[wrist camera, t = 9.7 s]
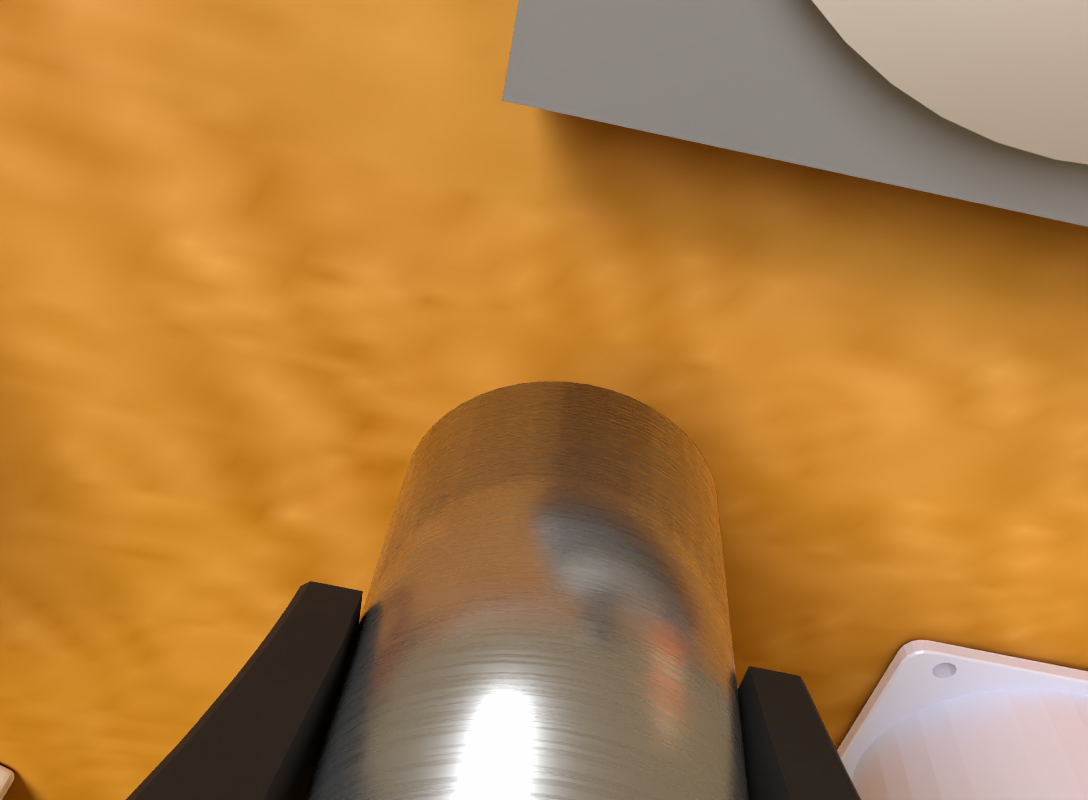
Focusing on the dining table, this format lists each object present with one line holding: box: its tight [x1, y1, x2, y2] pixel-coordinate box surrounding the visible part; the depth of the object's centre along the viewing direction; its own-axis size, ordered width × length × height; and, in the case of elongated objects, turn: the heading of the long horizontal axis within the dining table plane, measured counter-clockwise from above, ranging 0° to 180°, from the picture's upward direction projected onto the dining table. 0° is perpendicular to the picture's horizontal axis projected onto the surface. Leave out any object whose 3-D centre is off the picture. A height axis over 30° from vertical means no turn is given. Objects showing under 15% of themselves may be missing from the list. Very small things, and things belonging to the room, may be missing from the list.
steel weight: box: [303, 382, 749, 800], centre depth 11 cm, size 4×4×6 cm
